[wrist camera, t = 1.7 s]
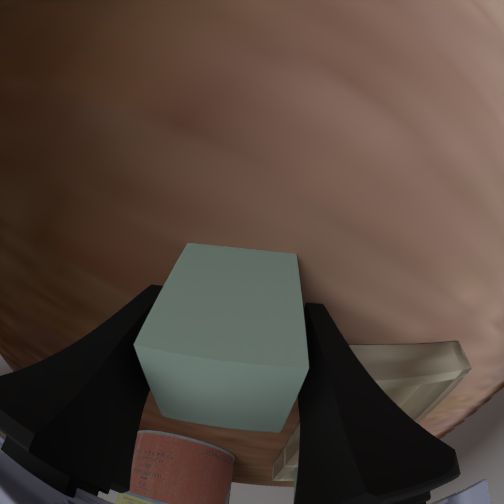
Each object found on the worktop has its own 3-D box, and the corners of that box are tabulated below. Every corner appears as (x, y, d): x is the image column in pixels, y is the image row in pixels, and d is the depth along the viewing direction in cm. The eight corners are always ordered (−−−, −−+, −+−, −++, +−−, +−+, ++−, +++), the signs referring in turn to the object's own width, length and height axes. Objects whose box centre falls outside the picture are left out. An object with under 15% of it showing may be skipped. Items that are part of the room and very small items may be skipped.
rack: (458, 340, 12) (471, 368, 10) (340, 462, 23) (341, 477, 21) (339, 344, 12) (346, 381, 10) (273, 464, 23) (272, 480, 21)
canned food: (222, 468, 26) (212, 543, 16) (138, 446, 25) (117, 520, 15) (248, 449, 21) (236, 555, 10) (132, 418, 20) (100, 523, 9)
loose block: (296, 253, 10) (309, 368, 5) (281, 330, 12) (280, 432, 7) (187, 242, 10) (133, 344, 6) (192, 320, 12) (162, 416, 8)
